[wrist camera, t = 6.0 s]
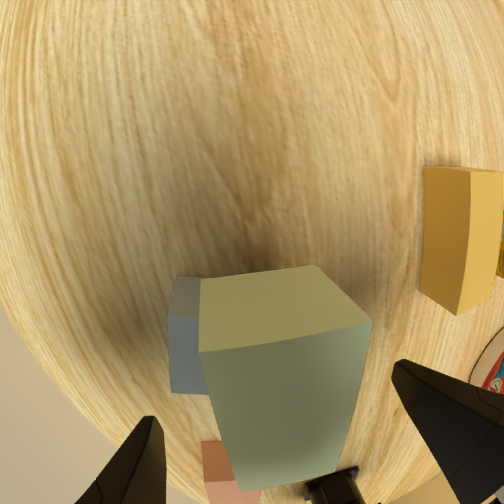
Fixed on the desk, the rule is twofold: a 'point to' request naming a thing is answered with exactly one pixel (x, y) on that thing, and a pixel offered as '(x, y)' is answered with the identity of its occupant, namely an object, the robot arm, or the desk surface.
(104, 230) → the desk surface
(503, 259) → the supplement bottle
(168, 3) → the desk surface
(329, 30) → the desk surface
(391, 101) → the desk surface
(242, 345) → the sage brick
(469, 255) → the mustard brick
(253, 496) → the terracotta brick
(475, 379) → the fruit juice
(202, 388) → the slate brick
